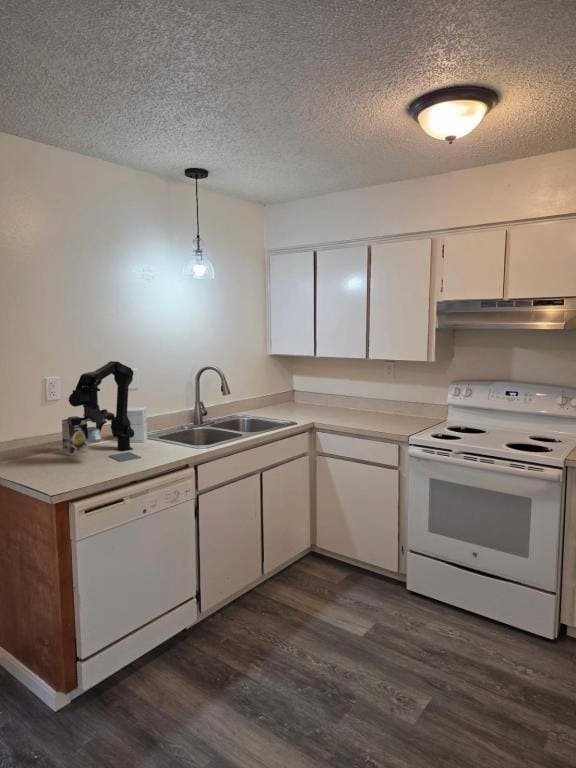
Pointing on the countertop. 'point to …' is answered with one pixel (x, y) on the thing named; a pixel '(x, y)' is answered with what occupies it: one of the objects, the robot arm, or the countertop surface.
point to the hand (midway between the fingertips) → (92, 438)
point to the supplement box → (138, 423)
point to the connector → (93, 435)
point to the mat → (124, 456)
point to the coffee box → (73, 439)
